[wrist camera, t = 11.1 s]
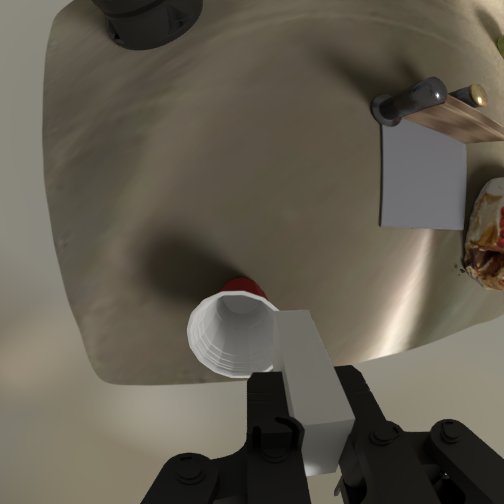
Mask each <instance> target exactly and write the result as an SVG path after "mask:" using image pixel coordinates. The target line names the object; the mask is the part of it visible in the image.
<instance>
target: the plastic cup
mask: <svg viewBox="0 0 504 504" xmlns="http://www.w3.org/2000/svg"><path fill="white" fill-rule="evenodd" d="M274 311H279V310H278V309H277V308H276V307H275V306H274V305H272V304H271V303H270V302H269V300H268V299H267V297H266V295H265V294H264V292H263V291H262V290H261V288H260V287H259V285H257V284H256V283H255V282H254V281H253V280H250V279H247V278H235V279H233V280H231V281H229V282H227V283H226V284H225V285H224V286H223V287H222V289H221V290H220V291H219V292H218V293H217V294H215V295H213V296H211V297H209V298H206V299H204V300H203V301H202V302H201V303H200V304H199V305H198V306H197V307H196V309H195V310H194V311H193V312H192V313H191V316H190V319H189V323H188V327H187V334H188V340H189V345H190V348H191V349H192V351H193V352H194V354H195V355H196V357H197V358H198V360H199V361H200V362H201V363H203V364H204V365H205V366H207V367H208V368H209V369H211V370H212V371H214V372H216V373H219V374H222V375H225V376H228V377H231V378H250V376H251V375H252V373H253V372H269V371H270V370H271V369H272V368H273V363H272V357H273V329H274Z"/></svg>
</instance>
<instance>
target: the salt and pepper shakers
mask: <svg viewBox="0 0 504 504" xmlns="http://www.w3.org/2000/svg"><path fill="white" fill-rule="evenodd" d="M448 95H450V96H452V97H454V98H456V99H458V100H460V101H462V102H463V103H465V104H467V105H469V106H471V107H472V108H475V107H483V106H486V105H487V102H488V99H487V95H486V92H485V90H484V89H483V87H482V86H481V85H479V84H472V85H470V86H469V87H466V88H463V89H460V90H457V91H454V92H451V93H448V94H447V89H446V87H445V85H444V84H443V82H442V81H441V80H440V79H438V78H436V77H430V78H428V79H426V80H424V81H422V82H419V83H417V84H415V85H413V86H411V87H409V88H407V89H405V90H403V91H401V92H400V93H398V94H396V95H394V96H390V95H386V94H382V95H379V96H377V97H375V98H374V100H373V101H372V104H371V110H372V114H373V116H374V118H375V119H376V121H377V122H378V123H379V124H381V125H382V124H383V125H385V126H388V127H394V126H397V125H398V124H399V123H400V122H401V120H402V118H400V117H401V116H404V115H407V114H410V113H413V112H416V111H418V110H421V109H424V108H427V107H430V106H433V105H436V104H440V103H443V102H445V101H446V100H447V96H448Z"/></svg>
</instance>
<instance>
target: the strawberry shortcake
mask: <svg viewBox="0 0 504 504" xmlns="http://www.w3.org/2000/svg"><path fill="white" fill-rule="evenodd" d="M469 225H470V226H468V228H469V231H468V230H467V234H466V242H465V250H466V253H465V259H464V263H465V269H466V272H467V273H468V275H469V276H470V277H471V278H473V279H475V280H476V281H477V282H478V283H480V284H481V285H483V286H482V287H483V288H484V289H488V290H493V289H497V290H504V177H501V178H494V179H491V180H490V181H488V182H487V183H486V184H485V186H484V187H483V188H482V189H481V191H480V193H479V195H478V197H477V200H476V201H475V202H474V207H473V211H472V213H471V216H470V221H469ZM460 271H461V272H462V273H464V272H465V271H464V270H463V269H460ZM459 276H460V275H459Z"/></svg>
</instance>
